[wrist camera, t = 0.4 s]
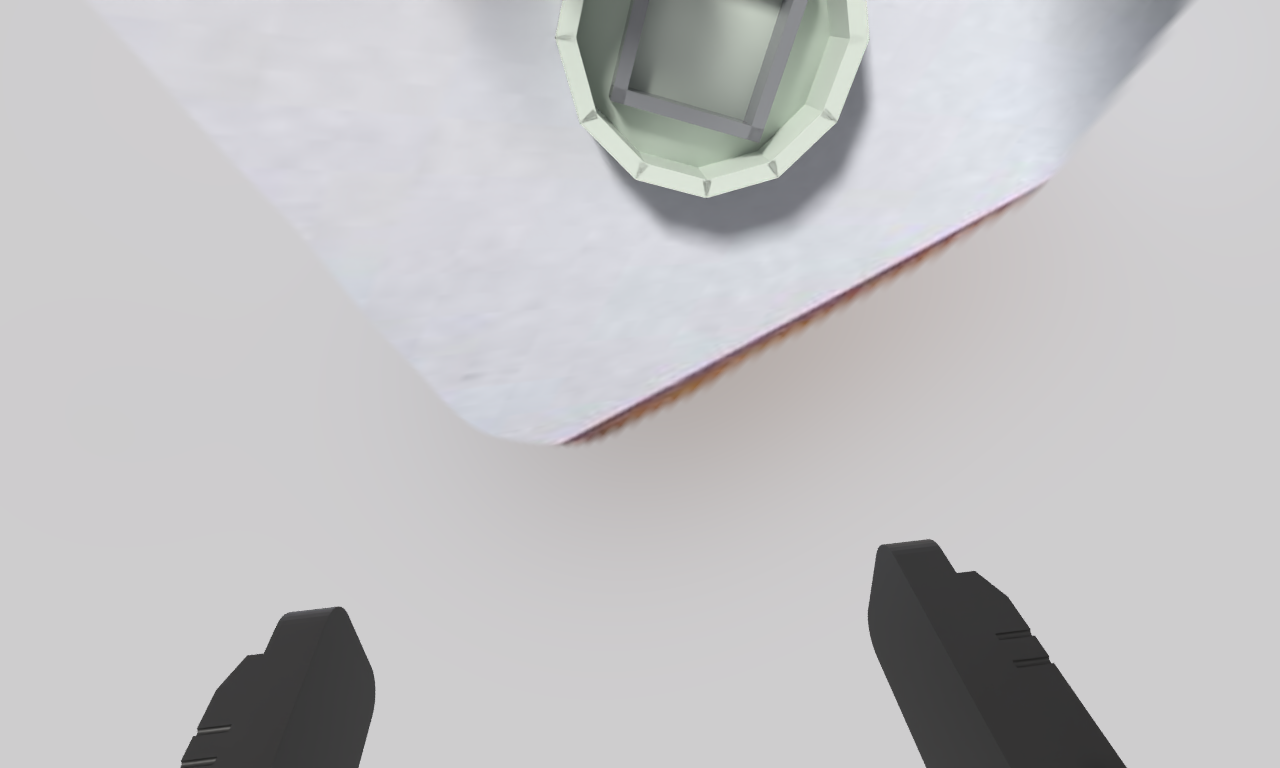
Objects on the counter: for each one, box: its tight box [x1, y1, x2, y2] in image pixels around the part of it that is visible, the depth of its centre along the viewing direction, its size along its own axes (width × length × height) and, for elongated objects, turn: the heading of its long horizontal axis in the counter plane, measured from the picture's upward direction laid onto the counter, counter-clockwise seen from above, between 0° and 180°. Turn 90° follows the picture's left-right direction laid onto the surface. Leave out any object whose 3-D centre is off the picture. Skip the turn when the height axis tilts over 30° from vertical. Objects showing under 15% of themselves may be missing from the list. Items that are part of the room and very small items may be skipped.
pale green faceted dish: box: [555, 0, 869, 198], centre depth 29 cm, size 13×13×4 cm
